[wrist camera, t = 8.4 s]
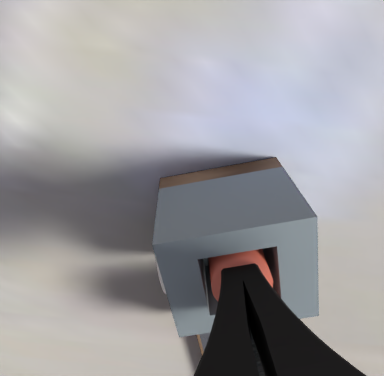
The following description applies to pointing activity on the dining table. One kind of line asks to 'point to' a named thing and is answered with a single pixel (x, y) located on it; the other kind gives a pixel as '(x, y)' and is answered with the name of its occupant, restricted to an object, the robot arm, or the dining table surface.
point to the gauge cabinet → (234, 241)
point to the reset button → (232, 261)
